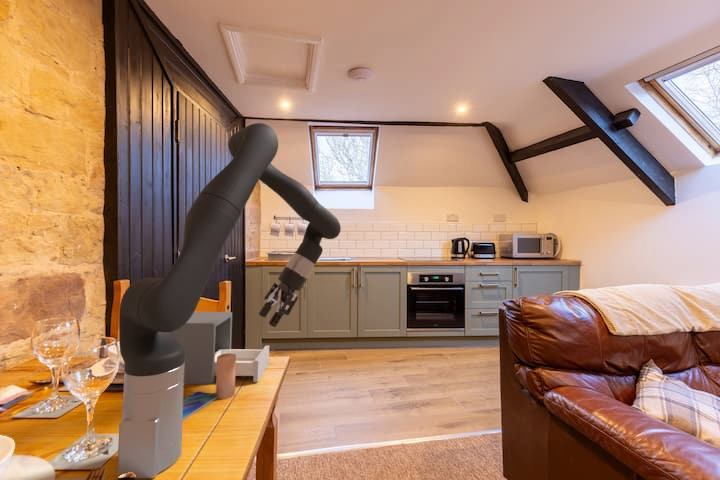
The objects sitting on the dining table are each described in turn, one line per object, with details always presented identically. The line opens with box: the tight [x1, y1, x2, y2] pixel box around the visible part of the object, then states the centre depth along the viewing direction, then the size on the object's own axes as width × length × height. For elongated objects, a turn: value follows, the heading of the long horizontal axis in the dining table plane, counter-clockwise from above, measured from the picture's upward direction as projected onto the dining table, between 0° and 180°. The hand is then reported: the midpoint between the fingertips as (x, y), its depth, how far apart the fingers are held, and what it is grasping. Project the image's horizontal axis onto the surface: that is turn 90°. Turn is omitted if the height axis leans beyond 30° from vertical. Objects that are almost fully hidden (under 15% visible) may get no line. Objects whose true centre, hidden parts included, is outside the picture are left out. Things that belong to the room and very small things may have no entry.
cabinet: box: [173, 311, 233, 385], centre depth 92 cm, size 16×14×17 cm
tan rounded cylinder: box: [215, 353, 236, 400], centre depth 80 cm, size 5×5×10 cm
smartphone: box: [183, 391, 218, 421], centre depth 72 cm, size 7×1×15 cm
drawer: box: [214, 344, 270, 383], centre depth 93 cm, size 16×13×6 cm
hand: (266, 320), depth 87 cm, fingers open, 8 cm apart
